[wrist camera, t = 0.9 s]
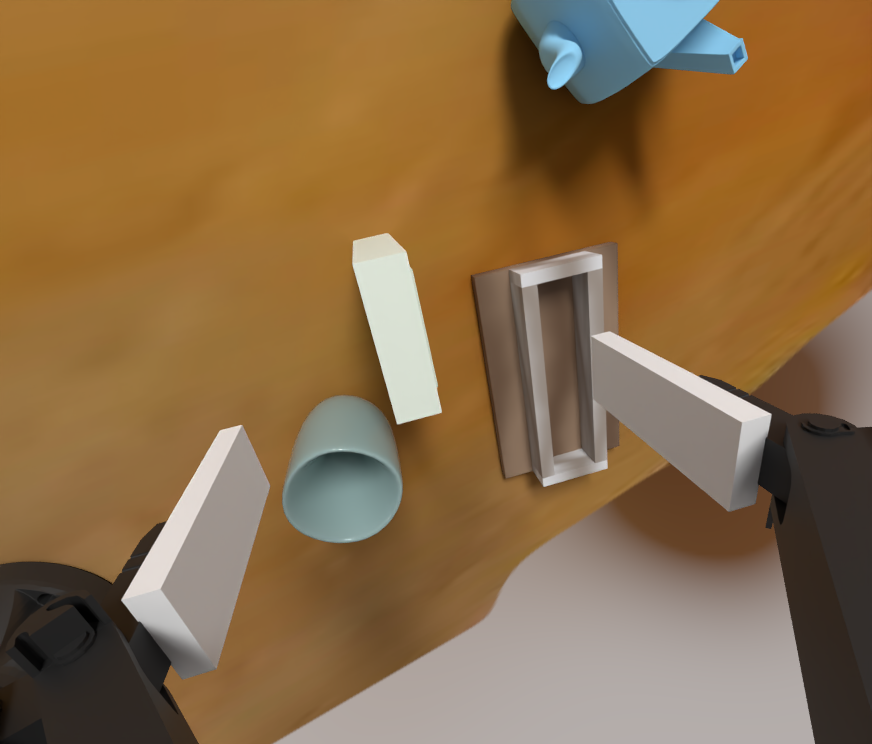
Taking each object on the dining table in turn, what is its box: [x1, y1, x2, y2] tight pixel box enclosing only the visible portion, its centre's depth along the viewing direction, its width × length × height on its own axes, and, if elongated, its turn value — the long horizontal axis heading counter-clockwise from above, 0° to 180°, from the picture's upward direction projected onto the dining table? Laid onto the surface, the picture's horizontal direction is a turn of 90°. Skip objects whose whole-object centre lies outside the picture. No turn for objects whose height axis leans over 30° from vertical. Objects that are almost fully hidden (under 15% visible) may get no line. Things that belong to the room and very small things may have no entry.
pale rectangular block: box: [352, 233, 442, 424], centre depth 26 cm, size 3×9×12 cm, turn 12°
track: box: [471, 242, 619, 487], centre depth 36 cm, size 12×20×4 cm, turn 12°
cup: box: [282, 395, 403, 543], centre depth 31 cm, size 8×8×10 cm
